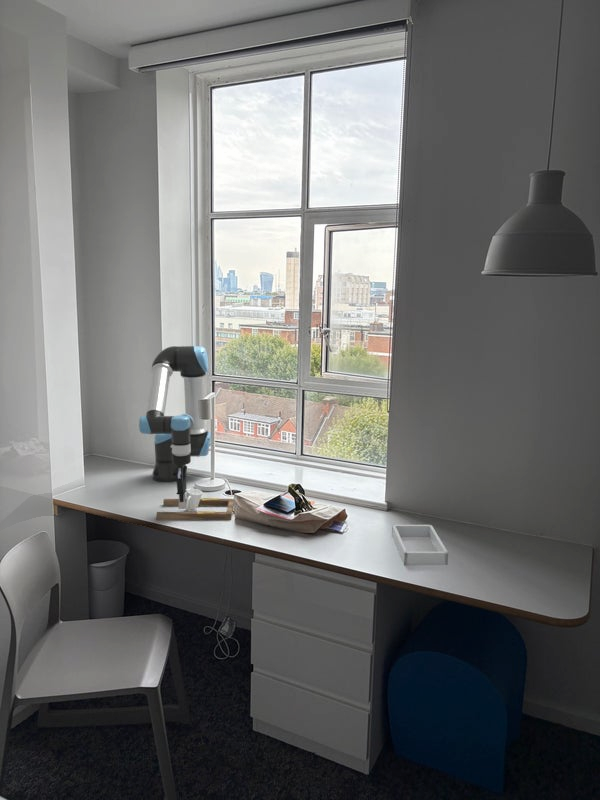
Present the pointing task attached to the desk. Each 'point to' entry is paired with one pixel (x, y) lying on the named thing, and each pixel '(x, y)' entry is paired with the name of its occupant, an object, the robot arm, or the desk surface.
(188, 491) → the cup
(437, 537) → the tray
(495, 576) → the desk surface
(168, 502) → the channel
